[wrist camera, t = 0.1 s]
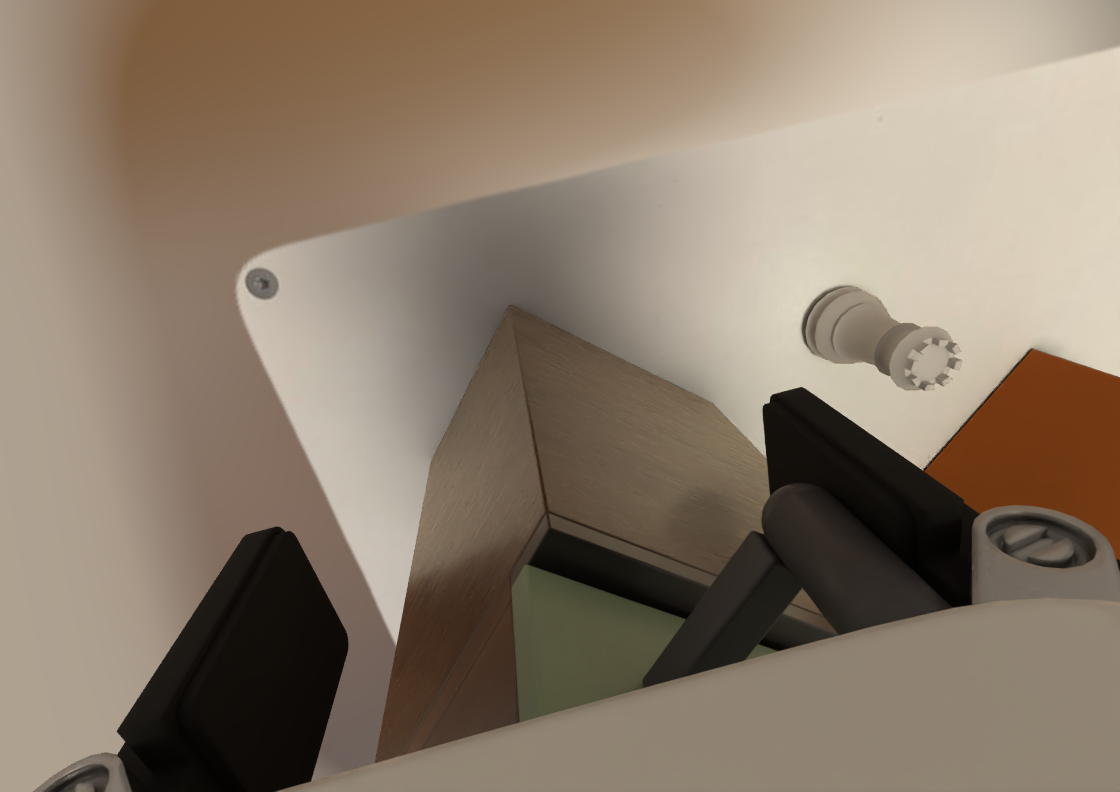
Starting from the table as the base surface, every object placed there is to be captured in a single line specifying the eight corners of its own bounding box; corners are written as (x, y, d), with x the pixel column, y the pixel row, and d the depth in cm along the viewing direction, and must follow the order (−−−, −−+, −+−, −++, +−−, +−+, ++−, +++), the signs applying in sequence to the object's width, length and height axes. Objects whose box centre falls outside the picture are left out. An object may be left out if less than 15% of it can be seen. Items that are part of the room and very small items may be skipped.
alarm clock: (953, 563, 42) (1151, 730, 29) (877, 521, 39) (1059, 684, 27) (1105, 405, 38) (1407, 519, 26) (1031, 347, 35) (1327, 443, 23)
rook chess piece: (853, 363, 34) (954, 416, 27) (790, 350, 33) (875, 401, 26) (884, 293, 33) (999, 328, 25) (818, 278, 32) (917, 310, 25)
